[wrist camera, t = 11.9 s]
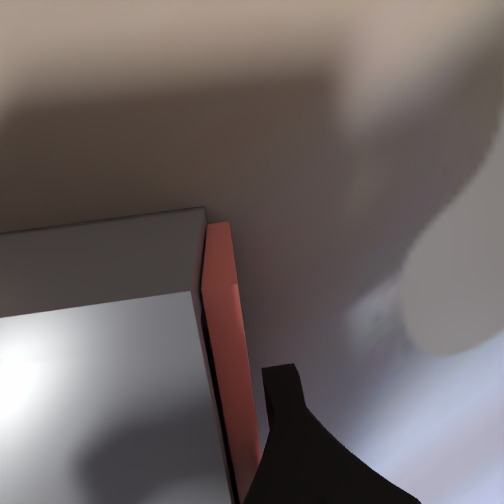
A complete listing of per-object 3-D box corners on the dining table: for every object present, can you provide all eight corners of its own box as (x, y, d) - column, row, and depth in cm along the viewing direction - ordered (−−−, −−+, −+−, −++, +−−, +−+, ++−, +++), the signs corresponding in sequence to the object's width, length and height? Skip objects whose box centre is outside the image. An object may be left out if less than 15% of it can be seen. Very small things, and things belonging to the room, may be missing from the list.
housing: (244, 455, 18) (262, 663, 11) (24, 492, 17) (-104, 734, 10) (204, 206, 13) (190, 291, 7) (-94, 245, 13) (-453, 383, 6)
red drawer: (262, 459, 17) (282, 603, 12) (37, 497, 17) (-44, 665, 11) (229, 221, 13) (237, 284, 8) (-72, 261, 12) (-277, 357, 7)
